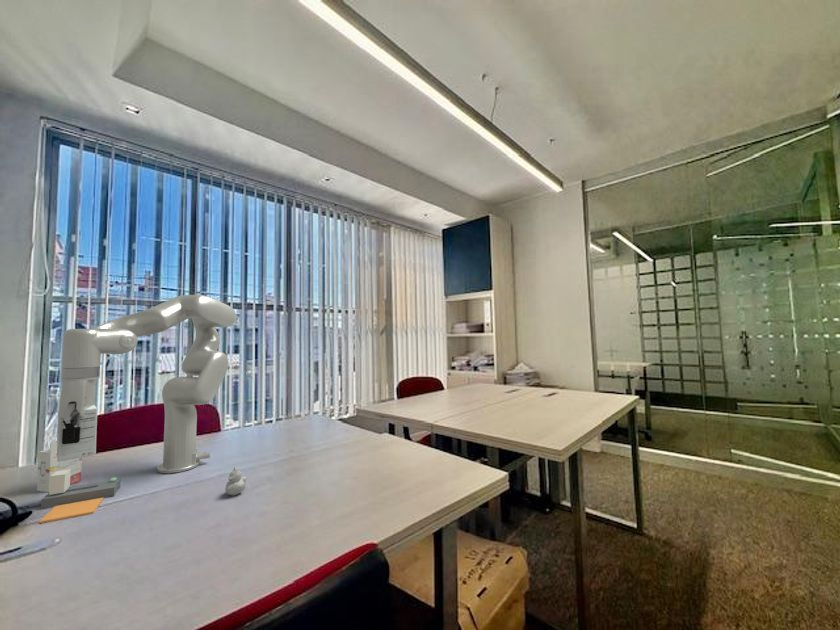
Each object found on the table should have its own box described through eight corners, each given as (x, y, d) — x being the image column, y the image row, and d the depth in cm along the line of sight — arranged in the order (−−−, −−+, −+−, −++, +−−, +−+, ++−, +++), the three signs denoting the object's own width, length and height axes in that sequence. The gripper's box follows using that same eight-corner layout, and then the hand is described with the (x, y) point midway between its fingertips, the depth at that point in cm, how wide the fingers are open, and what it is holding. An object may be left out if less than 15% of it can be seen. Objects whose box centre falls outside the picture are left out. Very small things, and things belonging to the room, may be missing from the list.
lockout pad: (103, 499, 98) (103, 497, 98) (93, 513, 90) (93, 511, 90) (54, 508, 93) (54, 506, 93) (39, 523, 85) (39, 521, 85)
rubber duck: (219, 496, 99) (220, 468, 100) (238, 487, 106) (239, 460, 106) (233, 499, 98) (234, 470, 98) (252, 489, 104) (252, 462, 104)
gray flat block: (120, 486, 106) (120, 475, 106) (113, 496, 100) (114, 484, 100) (52, 498, 99) (52, 486, 99) (40, 509, 92) (41, 496, 93)
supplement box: (56, 455, 92) (58, 408, 93) (94, 448, 98) (95, 403, 98) (56, 462, 87) (58, 412, 88) (96, 455, 93) (98, 407, 93)
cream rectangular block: (69, 487, 99) (70, 469, 100) (64, 492, 96) (65, 474, 96) (55, 489, 98) (56, 471, 98) (49, 495, 94) (50, 476, 95)
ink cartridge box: (69, 479, 112) (72, 433, 112) (81, 480, 111) (83, 434, 111) (35, 491, 103) (38, 441, 104) (47, 492, 102) (50, 442, 103)
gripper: (74, 371, 99) (71, 432, 98) (47, 378, 84) (43, 450, 83) (108, 370, 103) (105, 429, 102) (88, 376, 88) (84, 445, 87)
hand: (77, 438), depth 93 cm, fingers closed on supplement box, 8 cm apart
